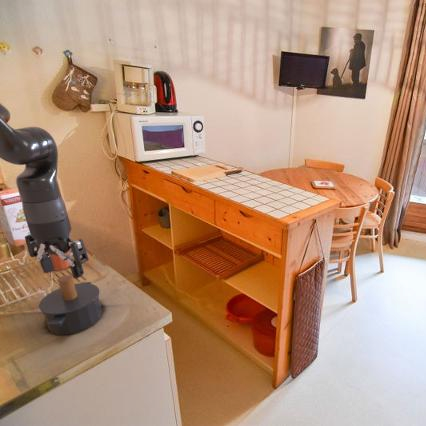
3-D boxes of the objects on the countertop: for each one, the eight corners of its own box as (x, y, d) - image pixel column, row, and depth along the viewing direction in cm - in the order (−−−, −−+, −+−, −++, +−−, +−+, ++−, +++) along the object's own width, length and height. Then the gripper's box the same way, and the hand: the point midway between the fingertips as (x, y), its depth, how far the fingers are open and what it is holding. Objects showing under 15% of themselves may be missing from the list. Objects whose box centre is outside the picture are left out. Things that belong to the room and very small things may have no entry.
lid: (28, 319, 77) (20, 295, 74) (56, 287, 88) (50, 266, 85) (87, 315, 79) (81, 291, 77) (107, 285, 91) (102, 263, 88)
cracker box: (17, 250, 114) (-1, 195, 106) (8, 245, 117) (-11, 192, 109) (60, 235, 126) (47, 185, 118) (52, 231, 128) (38, 182, 120)
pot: (32, 346, 77) (24, 323, 74) (68, 301, 92) (62, 281, 90) (86, 341, 80) (80, 319, 77) (112, 298, 95) (108, 278, 92)
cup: (44, 273, 103) (37, 249, 100) (55, 263, 109) (48, 240, 105) (67, 272, 104) (60, 249, 101) (76, 262, 110) (70, 239, 107)
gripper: (3, 217, 71) (24, 277, 78) (58, 226, 70) (75, 287, 76) (36, 206, 78) (53, 262, 85) (87, 213, 76) (100, 270, 83)
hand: (64, 274), depth 80 cm, fingers open, 8 cm apart
